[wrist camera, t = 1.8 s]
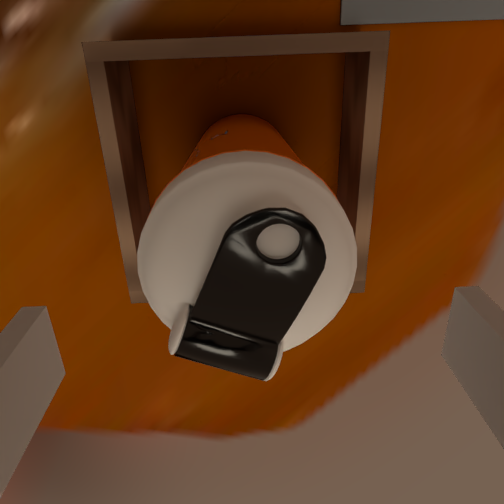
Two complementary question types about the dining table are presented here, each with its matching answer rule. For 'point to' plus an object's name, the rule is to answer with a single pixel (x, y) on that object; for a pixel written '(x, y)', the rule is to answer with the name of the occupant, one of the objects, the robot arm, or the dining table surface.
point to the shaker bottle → (245, 251)
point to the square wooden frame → (119, 52)
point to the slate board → (418, 11)
